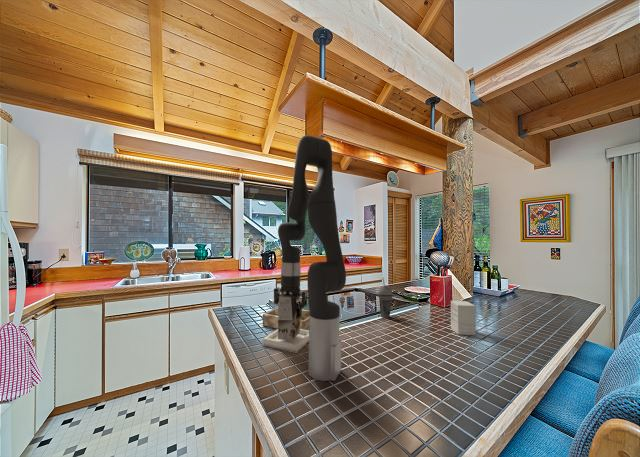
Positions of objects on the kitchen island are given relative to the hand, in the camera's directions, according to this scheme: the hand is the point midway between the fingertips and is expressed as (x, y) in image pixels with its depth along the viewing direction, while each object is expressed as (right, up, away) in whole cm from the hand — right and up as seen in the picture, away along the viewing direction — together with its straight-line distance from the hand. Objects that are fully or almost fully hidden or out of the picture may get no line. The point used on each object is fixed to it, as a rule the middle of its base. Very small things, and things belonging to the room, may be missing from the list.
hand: (289, 316), depth 94 cm
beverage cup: (+45, -12, +31) cm, 56 cm away
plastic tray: (0, -10, 0) cm, 10 cm away
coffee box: (0, -8, 0) cm, 8 cm away
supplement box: (+75, -12, +13) cm, 77 cm away
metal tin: (-7, -10, +20) cm, 23 cm away
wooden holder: (-2, -10, +18) cm, 21 cm away
